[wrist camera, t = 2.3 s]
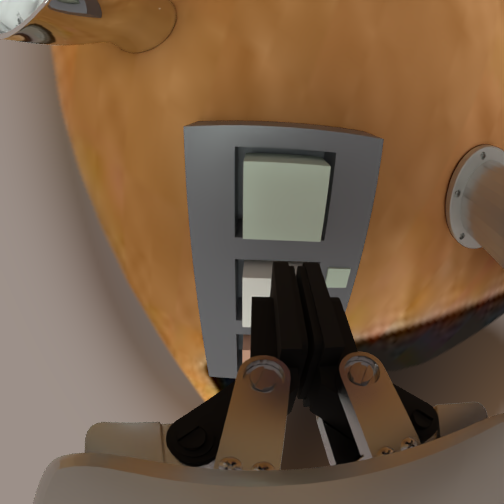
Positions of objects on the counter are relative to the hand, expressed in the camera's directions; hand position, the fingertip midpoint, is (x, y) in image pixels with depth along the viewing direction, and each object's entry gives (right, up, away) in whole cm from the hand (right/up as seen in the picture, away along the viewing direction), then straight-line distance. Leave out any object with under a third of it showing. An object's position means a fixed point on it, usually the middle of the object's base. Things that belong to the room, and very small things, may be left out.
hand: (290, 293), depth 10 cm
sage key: (+1, +6, +10) cm, 12 cm away
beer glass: (-11, +21, +6) cm, 24 cm away
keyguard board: (+1, 0, +18) cm, 18 cm away
